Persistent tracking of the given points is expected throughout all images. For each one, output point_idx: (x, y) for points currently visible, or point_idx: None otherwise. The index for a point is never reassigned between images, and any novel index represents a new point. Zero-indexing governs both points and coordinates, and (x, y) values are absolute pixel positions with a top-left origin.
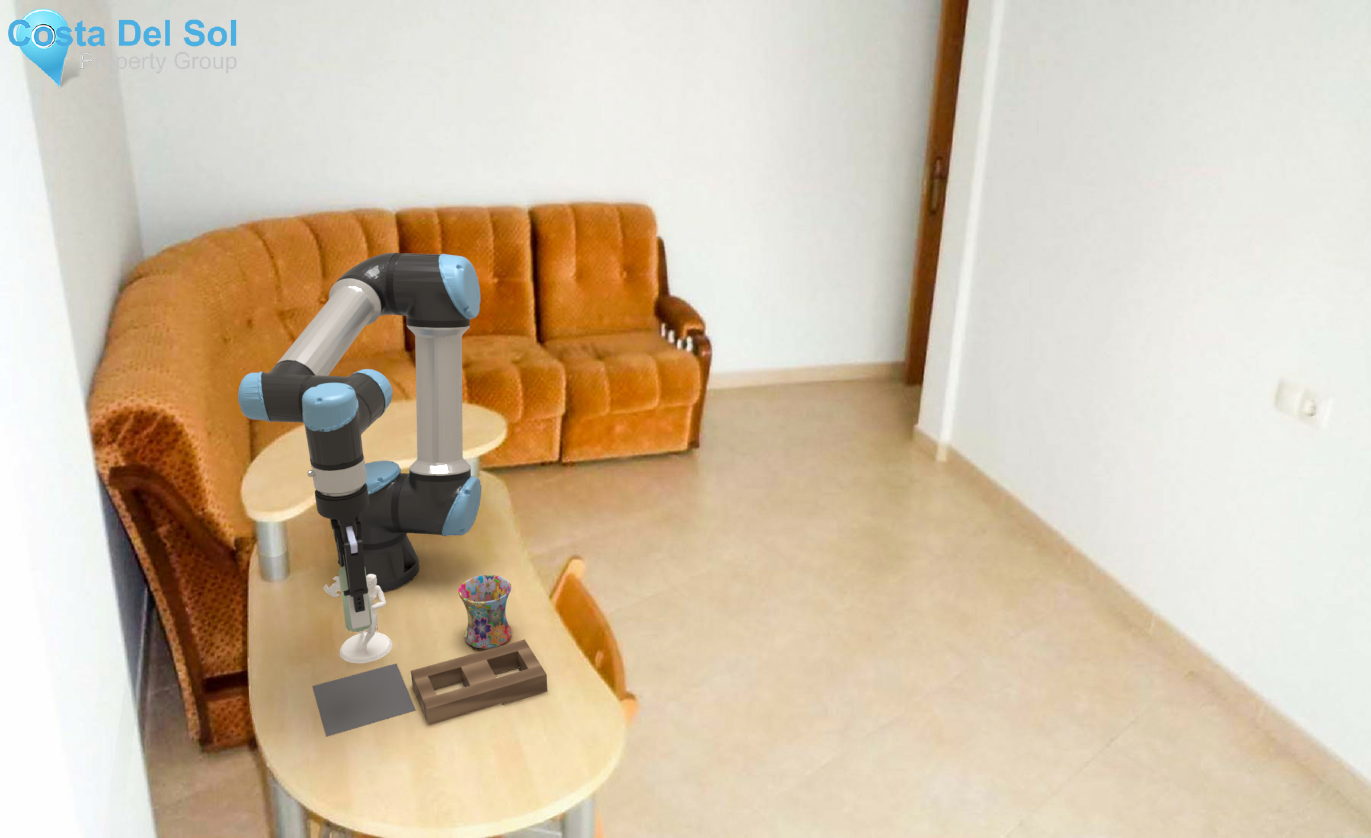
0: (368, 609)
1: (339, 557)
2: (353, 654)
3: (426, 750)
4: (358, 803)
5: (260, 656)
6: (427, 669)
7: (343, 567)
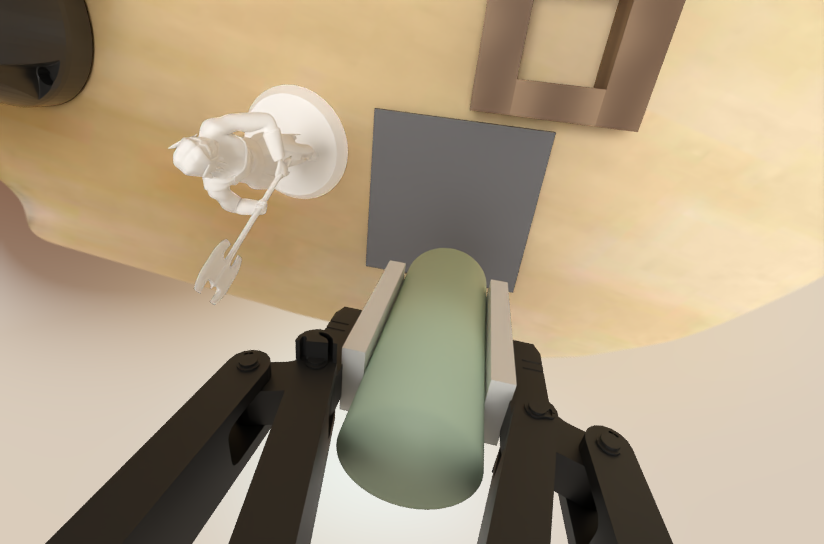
0: (510, 317)
1: (251, 454)
2: (311, 179)
3: (685, 159)
4: (707, 306)
5: (246, 298)
6: (489, 68)
7: (357, 474)
